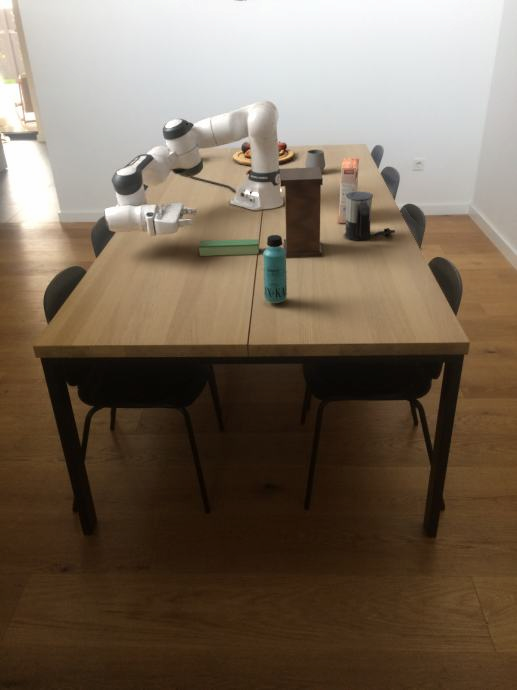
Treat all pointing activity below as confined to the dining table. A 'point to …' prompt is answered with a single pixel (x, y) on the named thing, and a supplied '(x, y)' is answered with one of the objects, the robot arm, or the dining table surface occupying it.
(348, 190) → the cracker box
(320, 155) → the cup
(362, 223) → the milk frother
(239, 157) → the wooden plate
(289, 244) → the walnut stand
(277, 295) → the beverage bottle
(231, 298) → the dining table surface
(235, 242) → the green rectangular bar
